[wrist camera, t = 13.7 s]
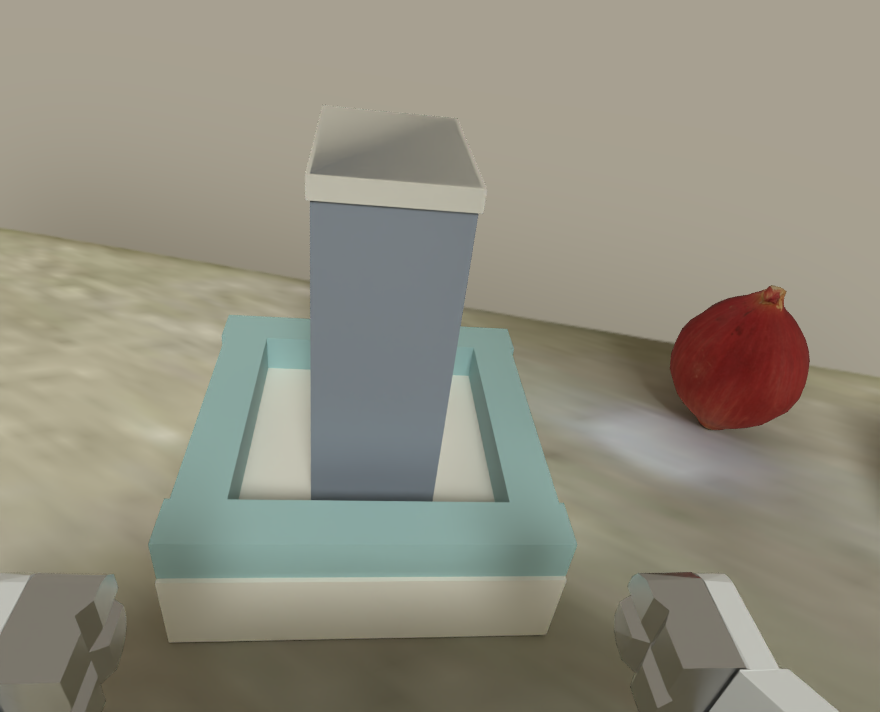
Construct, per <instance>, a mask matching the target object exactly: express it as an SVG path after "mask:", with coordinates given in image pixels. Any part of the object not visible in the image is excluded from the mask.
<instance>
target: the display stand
mask: <svg viewBox="0 0 880 712" xmlns="http://www.w3.org/2000/svg"><path fill="white" fill-rule="evenodd" d="M222 344H223V345H222V348H221V351H220V354H219V357H218V360H217V363H216V365H215V368H214V371H213V374H212V377H211V380H210V383H209V386H208V389H207V392H206V395H205V397H204V400H203V403H202V406H201V409H200V412H199V415H198V418H197V421H196V424H195V427H194V430H193V432H192V435H191V438H190V441H189V444H188V447H187V450H186V453H185V456H184V459H183V462H182V464H181V467H180V470H179V473H178V476H177V479H176V482H175V485H174V488H173V491H172V494H171V497H170V499H164V501H163V504H162V507H161V509H160V512H159V515H158V518H157V521H156V524H155V526H154V529H153V532H152V535H151V538H150V541H149V543H148V546H149V550H150V554H151V558H152V563H153V567H154V571H155V576H156V581H155V587H156V591H157V595H158V599H159V603H160V607H161V612H162V616H163V620H164V624H165V628H166V633H167V637H168V641H169V642H217V641H267V640H317V639H367V638H417V637H468V636H518V635H546V634H547V631H548V629H549V626H550V623H551V621H552V618H553V615H554V613H555V610H556V607H557V605H558V602H559V600H560V597H561V594H562V592H563V589H564V586H565V584H566V581H567V579H566V574H567V571H568V568H569V566H570V563H571V560H572V558H573V555H574V552H575V550H576V547H577V542H576V539H575V536H574V533H573V530H572V527H571V524H570V521H569V517H568V514H567V511H566V508H565V505H564V503H559V501H558V497H557V494H556V491H555V488H554V485H553V482H552V479H551V475H550V472H549V469H548V466H547V463H546V460H545V456H544V453H543V450H542V447H541V444H540V441H539V438H538V434H537V431H536V428H535V425H534V422H533V419H532V415H531V412H530V409H529V406H528V403H527V400H526V396H525V393H524V390H523V387H522V384H521V381H520V378H519V374H518V371H517V368H516V365H515V362H514V359H513V351H514V348H513V345H512V342H511V339H510V336H509V333H508V329H498V328H479V327H460V332H459V338H458V345H457V351H456V357H455V363H454V370H453V376H452V382H451V388H450V395H449V401H448V407H447V413H446V420H445V426H444V432H443V438H442V445H441V451H440V457H439V464H438V470H437V476H436V482H435V489H434V495H433V501H432V502H425V501H332V500H311V372H310V319H300V318H281V317H261V316H241V315H229V317H228V319H227V322H226V325H225V328H224V331H223V334H222Z"/></svg>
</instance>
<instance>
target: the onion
mask: <svg viewBox="0 0 880 712" xmlns="http://www.w3.org/2000/svg"><path fill="white" fill-rule="evenodd" d="M785 294H786V291H785V290H784V289H782V288H781V287H776V286H772V285H771V286H769V287H768V288H767V289H765V290H762V291H759V292H755V293H752V294H749V295H743V296H737V297H732V298H728V299H726V300H723V301H720V302H718V303H716V304H714V305H712V306H711V307H710V308H708V309H707V310H705V311H704V312H703V313H701V314H699V315H698V316H696V317H695V318H693V319H691V320H690V321H689V322H688V323H687V324H686V325H685V326H684V328H682V330H681V332H680V334H679V336H678V338H677V340H676V342H675V345H674V348H673V350H672V353H671V361H670V371H671V374H672V378H673V382H674V385H675V388H676V391H677V394H678V395H679V397H680V398H681V400H682V401H683V403H684V404H685V405H686V406H687V407H688V409H689V410H690V411H691V412H692V413H693V414H694V415H695V416H696V417H697V419H698V420H699V422H700V424H701V425H703V426H704V427H706V428H707V429H710V430H723V429H738V428H748V427H753V426H759V425H762V424H764V423H766V422H768V421H770V420H772V419H774V418H776V417H778V416H780V415H782V414H784V413H786V412H788V411H789V410H790V408H791V407H792V406H793V405H794V404H795V403H796V402H797V401H798V400H799V398H800V396H801V394H802V391H803V389H804V386H805V384H806V380H807V375H808V369H809V362H810V360H809V351H808V346H807V343H806V340H805V337H804V335H803V333H802V331H801V329H800V328H799V326H798V324H797V322H796V321H795V319H794V318H793V317H792V315H791V314H790V313H789V312H787V310H786V309H785V307H784V296H785Z"/></svg>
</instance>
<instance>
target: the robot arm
mask: <svg viewBox="0 0 880 712" xmlns="http://www.w3.org/2000/svg"><path fill="white" fill-rule="evenodd" d="M628 589H629V591H630V594H631V595H630V596H628V597H627V598H625V599H624V600H622V601H621V602H620V603H619V605H618V608H617V610H616V613H615V619H614V633H615V639H616V645H617V648H618V651H619V654H620V657H621V660H622V661H623V662H624V663H625V664H626V665H627V666H628V667H629V668H630V669H631V670H632V671H633V672H634V676H633V679H632V683H631V686H630V688H631V691H632V694H633V697H634V699H635V702H636V705H637V708H638V711H639V712H839V711H838V710H837V709H836V708H835V707H833V706H832V705H831V704H830V703H829V702H827V701H826V700H825V699H824V698H823V697H821V696H820V695H819V694H818V693H817V692H816V691H814V690H813V689H812V688H811V687H810V686H808V685H807V684H806V683H805V682H804V681H802V680H801V679H800V678H799V677H798V676H796V675H795V674H794V673H793V672H792V671H791V670H789V669H782V668H779V666H778V664H777V663H776V661H775V659H774V657H773V655H772V653H771V652H770V650H769V648H768V646H767V644H766V642H765V641H764V639H763V637H762V635H761V633H760V631H759V630H758V628H757V626H756V624H755V622H754V620H753V619H752V617H751V615H750V613H749V611H748V609H747V608H746V606H745V604H744V602H743V600H742V598H741V596H740V595H739V593H738V591H737V589H736V587H735V585H734V584H733V582H732V580H731V579H730V578H729V577H728V576H727V575H726V574H723V573H692V572H678V573H638V574H636V575H634V576H632V578H631V580H630V582H629V584H628ZM117 590H118V585H117V582H116V579H115V577H114V574H67V573H0V712H102V711H103V708H104V705H105V702H106V699H105V696H104V693H103V690H102V687H101V684H102V683H103V682H104V681H105V680H106V679H107V678H108V677H109V676H110V675H111V674H112V673H114V672H115V671H116V670H117V667H118V664H119V661H120V658H121V655H122V651H123V647H124V641H125V635H126V613H125V609H124V605H122V604H121V603H119V602H118V601H116V600H115V599H114V598H115V595H116V592H117Z"/></svg>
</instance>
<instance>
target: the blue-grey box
mask: <svg viewBox="0 0 880 712" xmlns="http://www.w3.org/2000/svg"><path fill="white" fill-rule="evenodd" d="M486 194H487V188H486V186H485V183H484V181H483V178H482V176H481V173H480V171H479V168H478V166H477V164H476V161H475V159H474V157H473V154H472V152H471V149H470V147H469V144H468V142H467V140H466V137H465V135H464V133H463V130H462V128H461V125H460V123H459V120H458V118H449V117H439V116H427V115H418V114H408V113H397V112H387V111H376V110H367V109H356V108H346V107H336V106H326V105H323V106H322V109H321V113H320V117H319V121H318V126H317V129H316V133H315V137H314V141H313V145H312V149H311V153H310V157H309V161H308V165H307V169H306V173H305V200H309V201H310V372H311V500H332V501H425V502H432V501H433V495H434V489H435V482H436V476H437V470H438V464H439V457H440V451H441V445H442V438H443V432H444V426H445V420H446V413H447V407H448V401H449V395H450V388H451V382H452V376H453V370H454V363H455V357H456V351H457V345H458V338H459V332H460V326H461V320H462V313H463V307H464V300H465V294H466V288H467V281H468V275H469V269H470V262H471V257H472V250H473V244H474V238H475V231H476V225H477V219H478V213H479V214H483V213H484V207H485V200H486Z"/></svg>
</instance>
